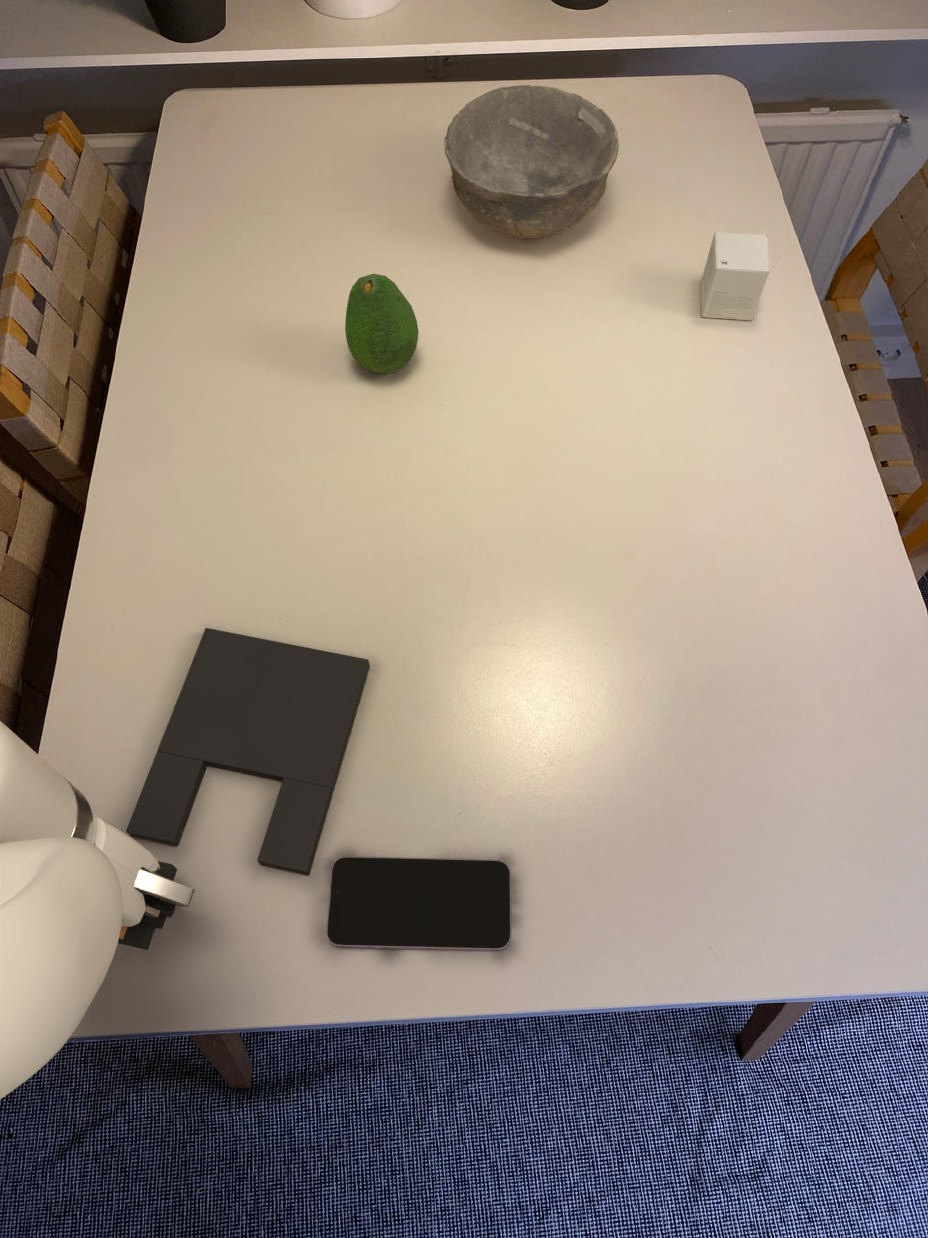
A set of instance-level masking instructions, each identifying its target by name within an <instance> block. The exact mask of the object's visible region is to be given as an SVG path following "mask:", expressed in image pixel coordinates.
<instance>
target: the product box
mask: <svg viewBox="0 0 928 1238" xmlns="http://www.w3.org/2000/svg"><path fill="white" fill-rule="evenodd" d="M769 253H770V252H769V240H768V235H766V234H757V233H756V234H755V233H739V232H737V233H736V232H723V231H722V232H721V231H720V232H719V231H715V232H714V233H713V236H712V241H711V244H710V247H709V252H708V254H707V259H706V262H705V265H704V269H703V274H702V276H701V280H700V286H699V287H700V314H701V315H700V316H701V317H702V318H708V319H709V318H711V319H725V320H739V321H752V320H753V319H754V315H755V313H756V310H757V308H758V303H759V302H760V299H761V296H762V293H763V290H764V288H765V284H766V283H767V279H768V276H769V274H770V272H771V270H770V254H769Z"/></svg>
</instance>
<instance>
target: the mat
mask: <svg viewBox="0 0 928 1238" xmlns="http://www.w3.org/2000/svg"><path fill="white" fill-rule="evenodd" d="M370 668H371V667H370V661H369V659H368V658H364V657H363V658H362V657H359V656H352V655H347V654H341V653H337V652H332V651H326V650H321V649H316V648H311V647H307V646H301V645H296V644H292V643H287V642H281V641H275V640H271V639H265V638H260V637H255V636H251V635H245V634H239V633H235V632H230V631H225V630H219V629H215V628H210V627H205V628H204V631H203V633H202V635H201V639H200V641H199V644H198V646H197V648H196V651H195V654H194V656H193V659H192V661H191V664H190V666H189V669H188V672H187V674H186V677H185V679H184V682H183V684H182V687H181V690H180V692H179V695H178V697H177V698H176V699H177V700H176V702H175V705H174V707H173V710H172V712H171V715H170V717H169V720H168V722H167V725H166V727H165V730H164V733H163V735H162V738H161V741H160V743H159V745H158V748H157V751H156V753H155V756H154V758H153V761H152V764H151V766H150V769H149V770H148V774H147V776H146V779H145V780H144V781H145V782H144V784H143V787H142V789H141V791H140V794H139V797H138V799H137V802H136V804H135V807H134V810H133V812H132V815H131V817H130V819H129V822H128V825H127V827H126V830H125V832H126V834H127V835H128V836H130V837H131V838H137V839H143V840H147V841H150V842H156V843H160V844H164V845H168V846H174V847H178V846H179V844H180V841H181V839H182V836H183V833H184V831H185V827H186V825H187V822H188V819H189V817H190V814H191V811H192V808H193V806H194V803H195V800H196V797H197V795H198V791H199V789H200V787H201V784H202V781H203V778H204V775H205V772H206V770H207V767H212V768H215V769H222V770H226V771H230V772H235V773H239V774H245V775H248V776H249V775H250V776H254V777H258V778H263V779H268V780H272V781H277V782H281V785H280V789H279V791H278V794H277V797H276V800H275V803H274V806H273V809H272V813H271V816H270V819H269V823H268V826H267V829H266V832H265V835H264V838H263V841H262V844H261V848H260V850H259V852H258V853H259V854H258V857H257V860H256V861H257V863H259V865H260V866H263V867H267V868H271V869H272V868H273V869H275V870H280V871H285V872H290V873H295V874H300V875H304V876H310V873H311V870H312V867H313V863H314V860H315V857H316V853H317V850H318V846H319V842H320V839H321V836H322V832H323V829H324V825H325V822H326V819H327V818H326V817H327V815H328V811H329V808H330V804H331V801H332V798H333V794H334V791H335V787H336V784H337V780H338V777H339V773H340V770H341V767H342V764H343V760H344V756H345V754H346V749H347V747H348V743H349V739H350V736H351V734H352V733H351V732H352V729H353V725H354V723H355V719H356V715H357V712H358V709H359V705H360V701H361V698H362V695H363V692H364V688H365V684H366V681H367V677H368V673H369V670H370Z"/></svg>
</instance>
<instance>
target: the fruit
mask: <svg viewBox="0 0 928 1238" xmlns="http://www.w3.org/2000/svg"><path fill="white" fill-rule="evenodd" d="M344 332H345V338H346V343H347V347H348V350H349V352H350V354H351V356H352V357H353V359H354V361H356V362H357V364H358V365H359V366H360V367H362V368H364V369H366V370H368V371H370V372H373V373H376V374H389V373H393V372H397V371H399V370H401V369H402V368H404V367H405V366H406V365H407V364H408V363H409V362H410V361H411V359H412V358H413V356H414V354H415V352H416V350H417V346H418V340H419V326H418V321H417V317H416V314H415V312H414V309H413V306H412V305H411V303H410V301H408V299H407V298H406V296H405V295H404V293H403V292H402V291H401V290H400V289H399V287H398V285H397V284H396V283H395V282H394V281H393V280H392V279H391V278H389V277H388V276H386V275H383V274H378V273H374V272H373V273H369V274H367V275H364V276H361V277H359V278H358V279H357V280H356V281H355V283H354V284H353V285H352V286H351V289H350V291H349V294H348V299H347V305H346V310H345V324H344Z"/></svg>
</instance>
